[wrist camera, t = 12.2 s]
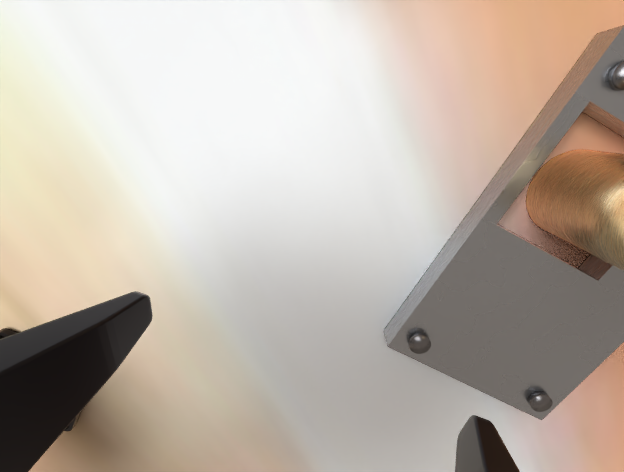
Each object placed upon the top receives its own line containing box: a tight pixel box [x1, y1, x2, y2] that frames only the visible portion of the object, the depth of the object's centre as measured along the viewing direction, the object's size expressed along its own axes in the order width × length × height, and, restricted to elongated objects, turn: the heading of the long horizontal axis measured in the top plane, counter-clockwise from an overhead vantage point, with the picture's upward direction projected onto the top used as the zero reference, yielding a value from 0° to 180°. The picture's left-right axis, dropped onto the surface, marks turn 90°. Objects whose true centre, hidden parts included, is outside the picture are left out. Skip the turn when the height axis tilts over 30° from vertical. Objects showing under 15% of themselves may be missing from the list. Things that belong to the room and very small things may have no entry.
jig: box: [384, 25, 624, 420], centre depth 18 cm, size 18×11×2 cm, turn 152°
